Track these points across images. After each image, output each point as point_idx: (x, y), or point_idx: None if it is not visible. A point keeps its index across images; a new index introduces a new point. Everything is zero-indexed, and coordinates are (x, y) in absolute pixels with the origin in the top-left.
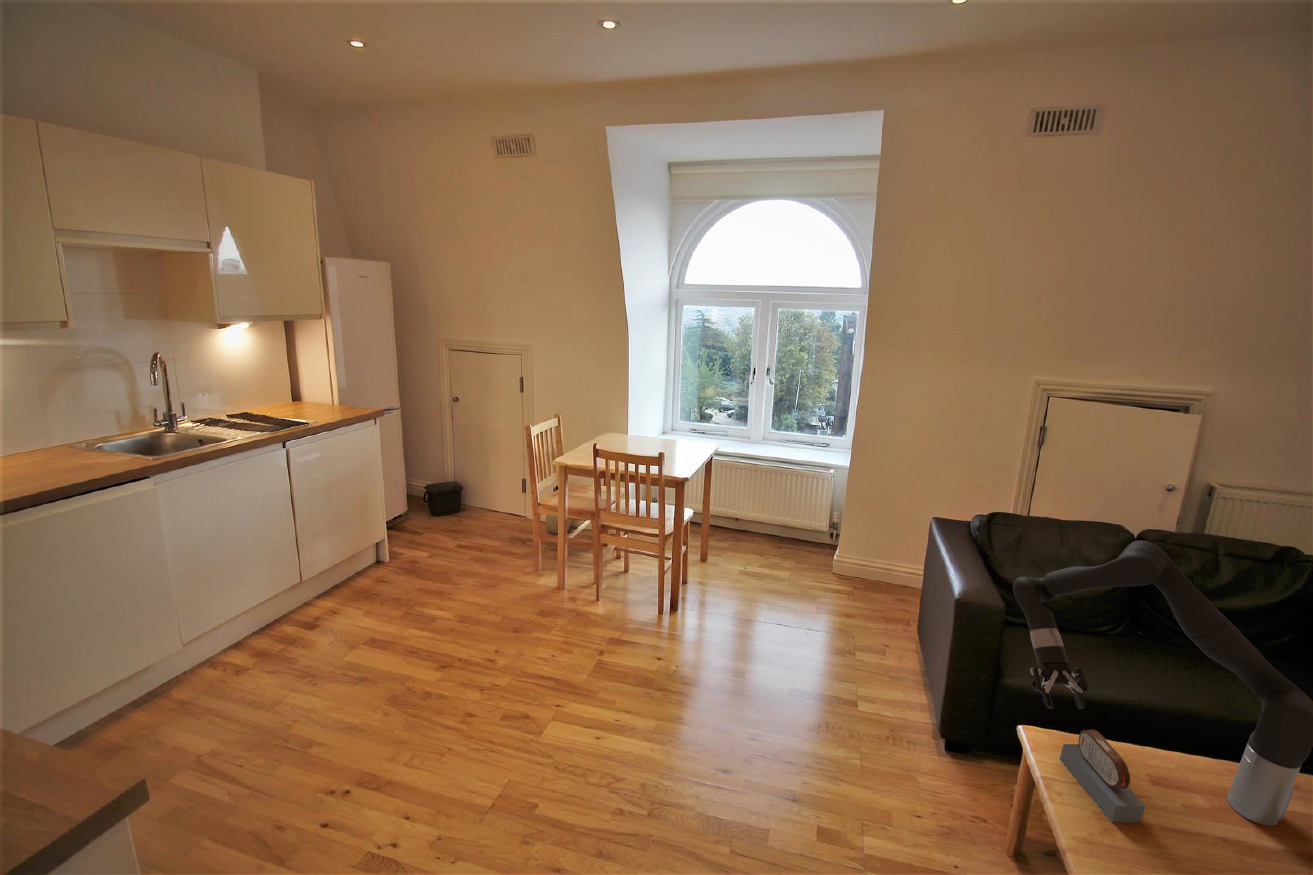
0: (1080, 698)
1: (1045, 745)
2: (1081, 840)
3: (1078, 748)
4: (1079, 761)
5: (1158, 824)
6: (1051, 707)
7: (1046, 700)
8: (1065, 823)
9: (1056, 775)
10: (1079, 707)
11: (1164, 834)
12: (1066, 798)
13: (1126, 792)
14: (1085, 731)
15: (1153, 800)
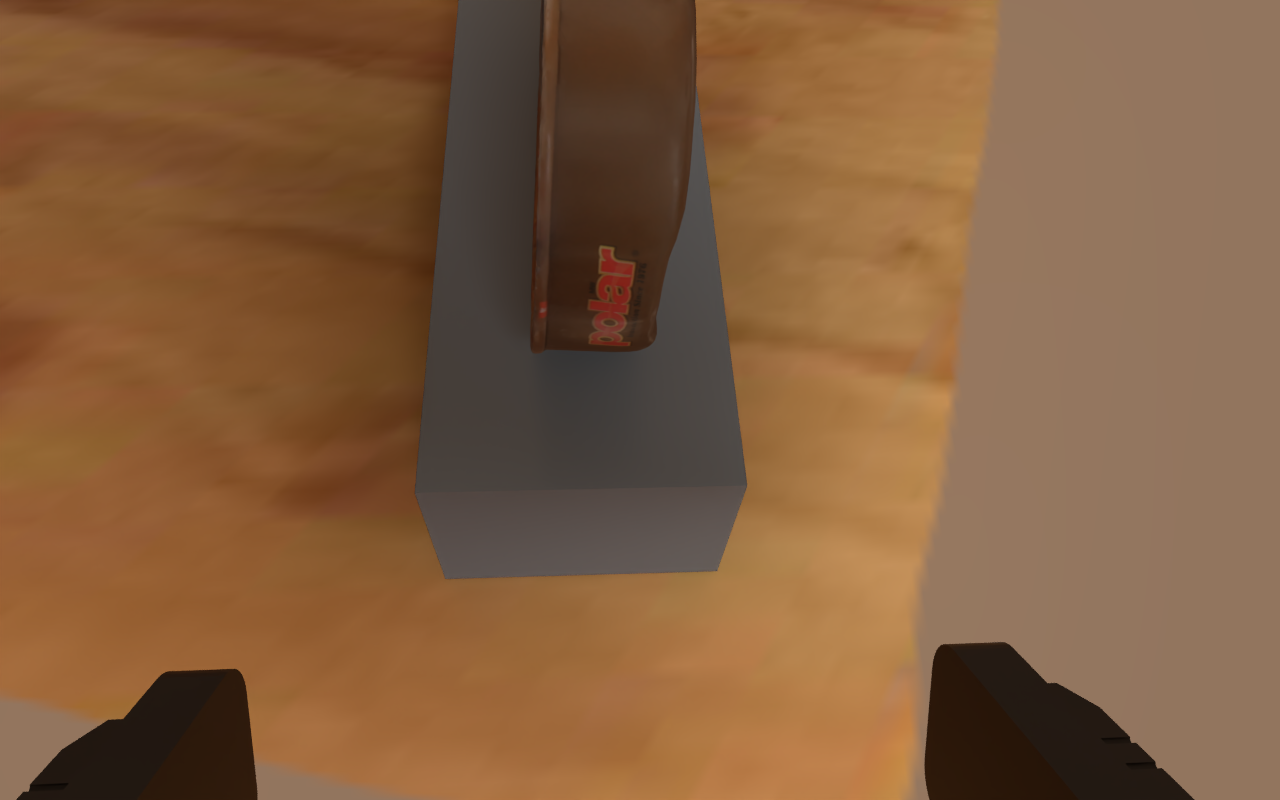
0: (115, 797)
1: (769, 762)
2: (918, 13)
3: (604, 426)
4: (710, 274)
5: (367, 73)
6: (992, 648)
7: (1144, 754)
8: (963, 85)
9: (845, 394)
10: (242, 768)
11: (394, 29)
12: (870, 219)
13: (513, 30)
14: (692, 84)
15: (211, 207)
